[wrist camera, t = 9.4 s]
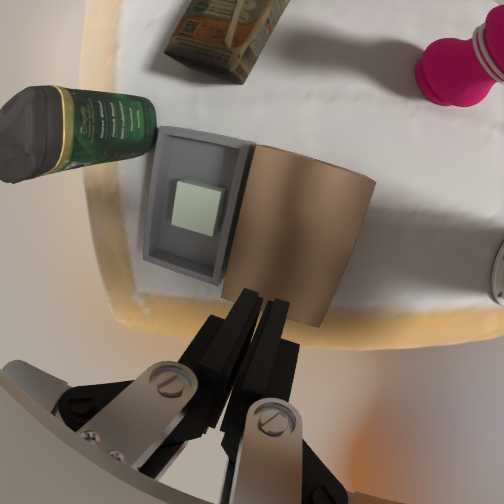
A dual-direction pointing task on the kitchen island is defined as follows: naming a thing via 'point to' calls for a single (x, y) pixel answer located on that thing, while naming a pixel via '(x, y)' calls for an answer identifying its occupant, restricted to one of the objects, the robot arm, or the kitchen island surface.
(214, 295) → the kitchen island surface
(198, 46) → the beverage carton
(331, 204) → the board
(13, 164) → the coffee jar
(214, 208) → the tile
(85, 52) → the kitchen island surface
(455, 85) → the pepper mill
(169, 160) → the tray
